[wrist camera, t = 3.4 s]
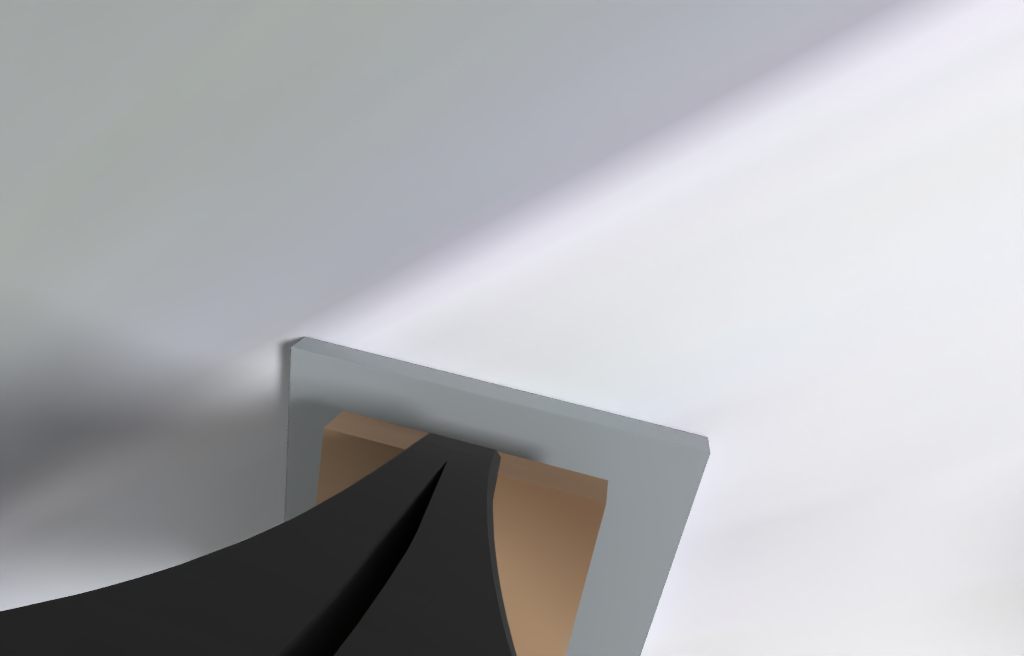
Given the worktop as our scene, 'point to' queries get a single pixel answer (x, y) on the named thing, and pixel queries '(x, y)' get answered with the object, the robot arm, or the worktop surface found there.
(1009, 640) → the worktop surface
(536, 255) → the worktop surface
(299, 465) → the stand
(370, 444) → the catapult lever
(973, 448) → the worktop surface
